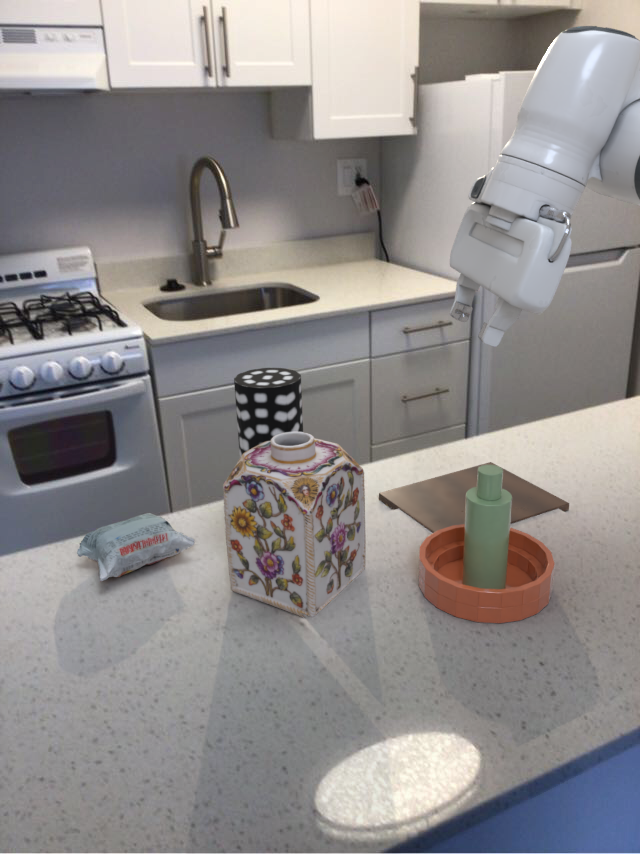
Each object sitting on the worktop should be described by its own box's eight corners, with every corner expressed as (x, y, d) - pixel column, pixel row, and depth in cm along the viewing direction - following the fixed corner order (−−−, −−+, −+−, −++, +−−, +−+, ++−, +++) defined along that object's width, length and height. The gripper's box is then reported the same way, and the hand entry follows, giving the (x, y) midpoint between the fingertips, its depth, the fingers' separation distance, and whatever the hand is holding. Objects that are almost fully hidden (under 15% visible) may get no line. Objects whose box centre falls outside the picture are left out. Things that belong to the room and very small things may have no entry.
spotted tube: (253, 504, 106) (243, 367, 98) (311, 507, 104) (306, 368, 97) (237, 533, 98) (225, 387, 91) (300, 537, 97) (293, 388, 89)
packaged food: (196, 560, 92) (192, 524, 90) (102, 595, 86) (96, 557, 84) (165, 533, 99) (161, 499, 97) (76, 564, 92) (70, 528, 91)
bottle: (486, 567, 87) (493, 456, 82) (515, 588, 83) (523, 472, 78) (453, 579, 85) (457, 466, 80) (480, 601, 81) (487, 483, 76)
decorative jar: (313, 625, 79) (307, 469, 73) (227, 593, 85) (214, 446, 79) (369, 571, 89) (368, 429, 82) (287, 546, 95) (281, 411, 88)
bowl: (491, 544, 93) (493, 512, 92) (579, 603, 82) (583, 567, 80) (393, 577, 87) (394, 543, 86) (473, 646, 75) (475, 608, 74)
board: (490, 467, 115) (490, 461, 114) (569, 509, 101) (569, 503, 101) (378, 499, 106) (378, 492, 106) (448, 549, 93) (448, 542, 92)
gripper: (607, 226, 66) (537, 370, 70) (517, 200, 84) (467, 316, 89) (545, 200, 64) (478, 350, 68) (467, 180, 83) (418, 299, 87)
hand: (471, 330), depth 79 cm, fingers open, 8 cm apart
